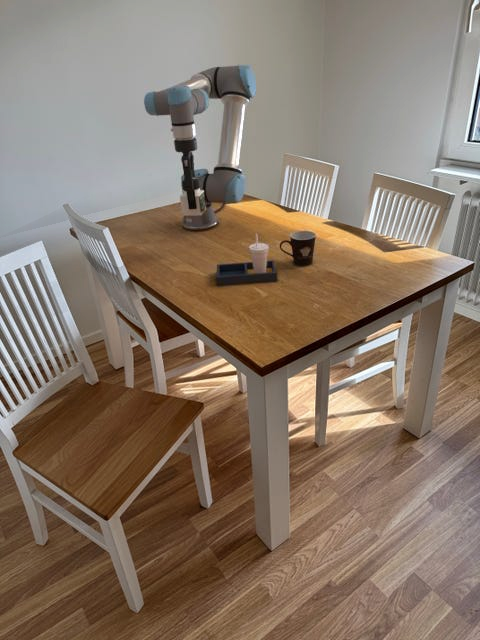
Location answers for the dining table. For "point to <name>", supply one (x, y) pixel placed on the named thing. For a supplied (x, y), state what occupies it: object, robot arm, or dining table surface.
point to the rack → (244, 273)
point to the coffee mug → (301, 247)
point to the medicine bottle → (198, 196)
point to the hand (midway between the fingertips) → (193, 205)
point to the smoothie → (259, 256)
